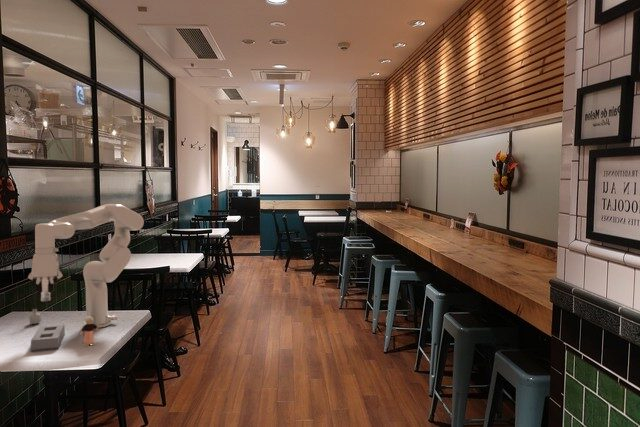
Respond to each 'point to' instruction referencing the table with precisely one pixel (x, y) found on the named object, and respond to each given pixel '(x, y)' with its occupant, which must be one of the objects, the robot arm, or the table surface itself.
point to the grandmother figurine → (88, 331)
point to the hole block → (48, 338)
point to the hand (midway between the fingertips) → (45, 291)
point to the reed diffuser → (34, 311)
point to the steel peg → (45, 289)
